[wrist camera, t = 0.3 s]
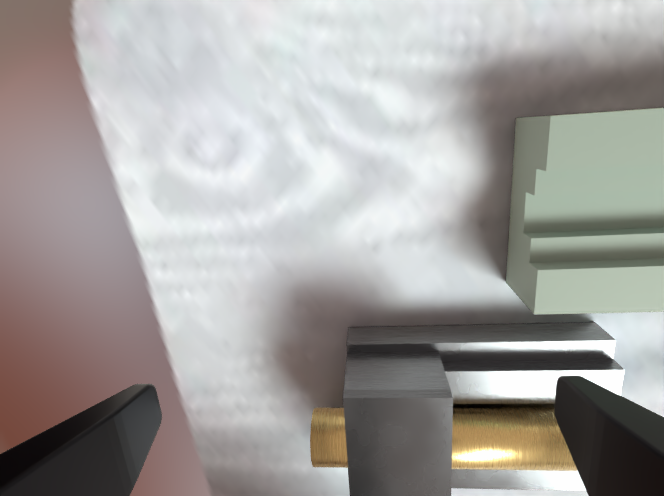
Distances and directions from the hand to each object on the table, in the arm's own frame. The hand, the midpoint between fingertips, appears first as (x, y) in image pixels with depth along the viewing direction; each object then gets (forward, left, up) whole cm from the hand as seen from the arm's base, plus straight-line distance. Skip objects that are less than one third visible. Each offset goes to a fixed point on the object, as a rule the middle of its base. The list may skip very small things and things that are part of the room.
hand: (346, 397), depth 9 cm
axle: (-11, -4, -11) cm, 16 cm away
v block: (+1, -14, -14) cm, 20 cm away
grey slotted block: (-11, -6, -14) cm, 19 cm away
